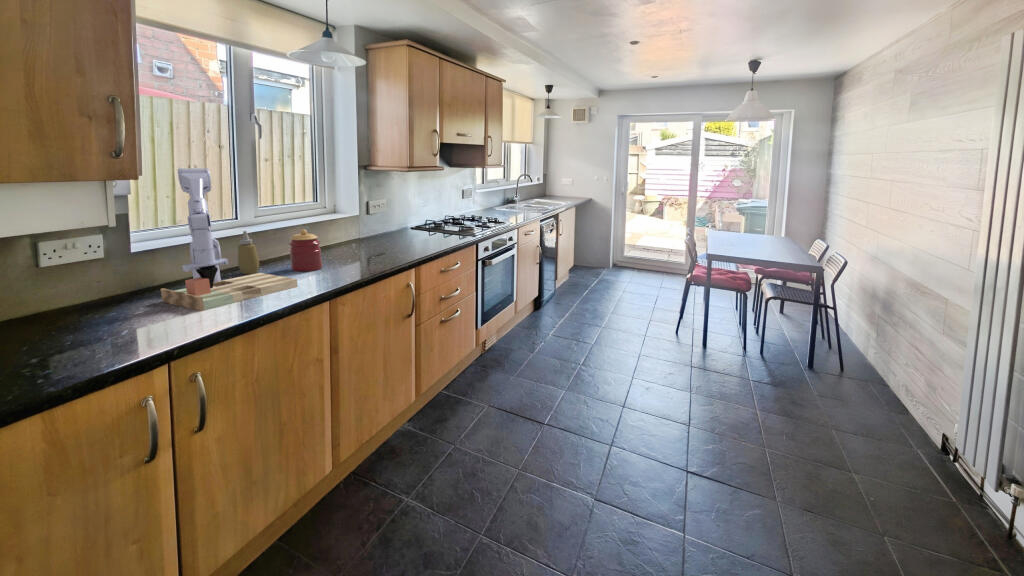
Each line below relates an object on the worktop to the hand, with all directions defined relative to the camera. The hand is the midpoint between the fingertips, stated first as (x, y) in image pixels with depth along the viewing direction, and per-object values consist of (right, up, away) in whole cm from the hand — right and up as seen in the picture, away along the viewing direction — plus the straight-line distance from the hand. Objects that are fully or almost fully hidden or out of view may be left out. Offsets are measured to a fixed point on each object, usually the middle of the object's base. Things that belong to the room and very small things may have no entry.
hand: (209, 288), depth 173 cm
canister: (+13, +8, +50) cm, 53 cm away
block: (-1, -2, -4) cm, 4 cm away
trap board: (+4, -2, +9) cm, 10 cm away
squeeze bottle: (-8, +6, +41) cm, 42 cm away
